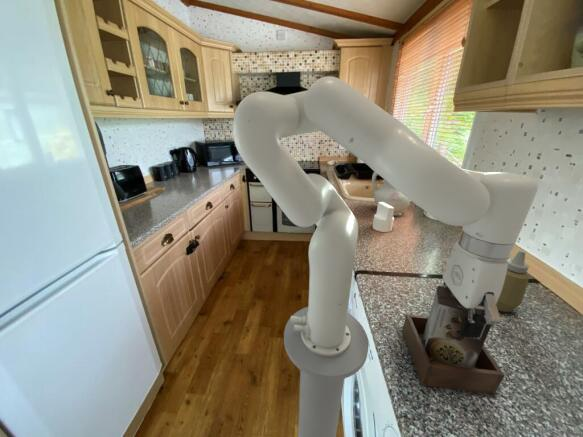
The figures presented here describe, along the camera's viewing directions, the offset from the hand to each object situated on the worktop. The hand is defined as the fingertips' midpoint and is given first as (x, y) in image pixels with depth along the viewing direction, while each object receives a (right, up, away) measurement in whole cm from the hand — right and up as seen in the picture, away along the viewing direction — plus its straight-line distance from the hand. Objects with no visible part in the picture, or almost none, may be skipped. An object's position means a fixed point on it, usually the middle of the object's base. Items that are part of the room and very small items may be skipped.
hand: (457, 318), depth 50 cm
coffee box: (0, -11, +4) cm, 12 cm away
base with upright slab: (+10, +16, +69) cm, 71 cm away
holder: (0, -11, +5) cm, 12 cm away
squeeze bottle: (+26, -5, +20) cm, 34 cm away
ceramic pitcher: (+21, +24, +89) cm, 94 cm away
